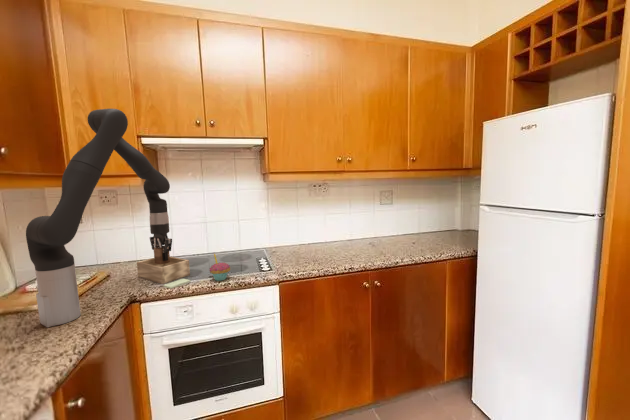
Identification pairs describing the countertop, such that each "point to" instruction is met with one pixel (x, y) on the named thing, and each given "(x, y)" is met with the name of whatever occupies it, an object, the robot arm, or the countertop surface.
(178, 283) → the mat
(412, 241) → the countertop surface
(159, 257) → the walnut block
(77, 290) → the robot arm
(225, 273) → the cupcake
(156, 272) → the crate
